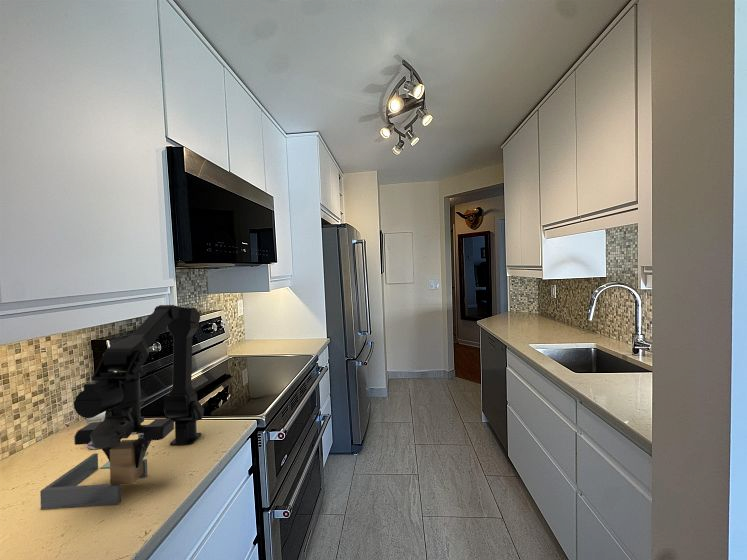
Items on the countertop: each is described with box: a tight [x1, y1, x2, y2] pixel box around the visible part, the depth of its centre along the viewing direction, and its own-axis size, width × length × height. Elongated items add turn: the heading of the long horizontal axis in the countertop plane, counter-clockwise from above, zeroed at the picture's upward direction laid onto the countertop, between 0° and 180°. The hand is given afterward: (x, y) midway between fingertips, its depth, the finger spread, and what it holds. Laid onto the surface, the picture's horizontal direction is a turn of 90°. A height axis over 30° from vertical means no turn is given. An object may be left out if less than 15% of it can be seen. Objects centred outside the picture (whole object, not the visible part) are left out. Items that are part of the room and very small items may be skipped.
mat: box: [100, 451, 149, 470], centre depth 93 cm, size 7×8×1 cm
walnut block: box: [109, 438, 143, 486], centre depth 80 cm, size 4×4×8 cm
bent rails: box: [39, 453, 148, 511], centre depth 82 cm, size 16×16×4 cm
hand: (127, 467), depth 80 cm, fingers closed on walnut block, 4 cm apart
